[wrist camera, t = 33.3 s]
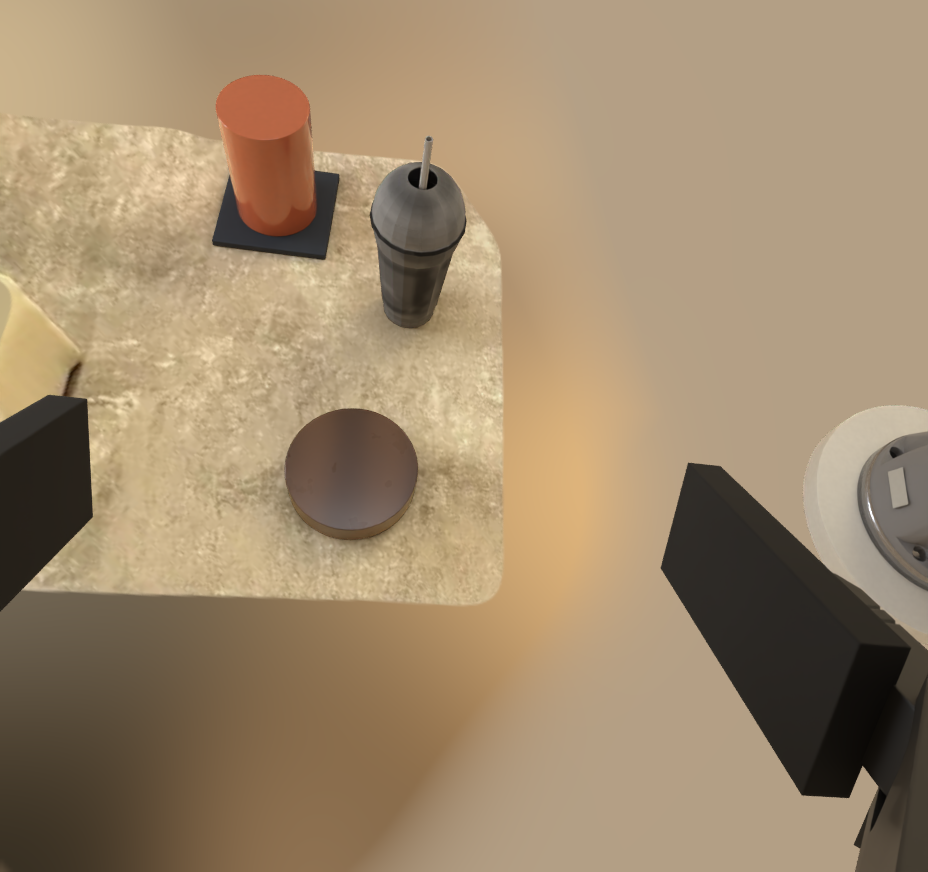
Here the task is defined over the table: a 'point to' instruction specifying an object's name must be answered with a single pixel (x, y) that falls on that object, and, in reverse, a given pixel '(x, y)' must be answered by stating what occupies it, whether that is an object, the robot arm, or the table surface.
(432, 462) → the table surface
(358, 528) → the saucer
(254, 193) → the terracotta cylinder
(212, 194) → the table surface
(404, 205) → the beverage cup
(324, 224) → the mat
